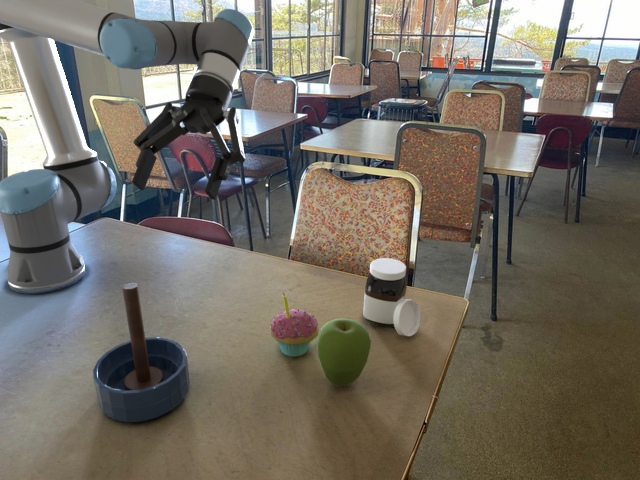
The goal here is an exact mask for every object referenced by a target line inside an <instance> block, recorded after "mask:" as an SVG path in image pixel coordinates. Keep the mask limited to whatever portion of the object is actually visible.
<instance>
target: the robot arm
mask: <svg viewBox="0 0 640 480" xmlns="http://www.w3.org/2000/svg"><path fill="white" fill-rule="evenodd" d="M253 36H254V26H253V24H252V22H251V20H250V19H249V18H248V17H247V16H246V15H245V14H244V13H242V12H241V11H239V10H236V9H233V8H225V9H222V10H221V11H219V12H218V13H217V15H216V16H215V17H214V20H213V21H203V22H202V21H201V22H197V21H196V22H195V21H180V20H179V21H176V20H153V19H152V20H150V19H141V18H137V17H133V16H130V15H126V14H124V13H118V12H116V11H113V10H109V9H107V8H103V7H99V6H97V5H94V4H90V3H86V2H84V1H80V0H0V38H1V39H2V40H4V41H5V42H6V43H7V45H8V47H9V50H10V54H11V56H12V59H13V62H14V65H15V67H16V70H17V73H18V76H19V79H20V82H21V85H22V87H23V90H24V93H25V96H26V99H27V101H28V105H29V107H30V110H31V112H32V115H33V119H34V123H35V125H36V128H37V130H38V134H39V136H40V138H41V141H42V144H43V148H44V151H45V153H46V157H45V159H44V161H43V162H42V167H43V168H36V169H35V168H34V169H29V170H27V171H25V170H24V171H20V172H16V173H13V174H11V175H8V176H6V177H5V178H3V179H1V180H0V217H1V220H2V224H3V228H4V232H5V236H6V239H7V243H8V248H9V257H8V258H9V259H8V264H7V265H8V266H7V272H6V280H7V284H8V287H9V289H10V290H11V291H13V292H16V293H20V294H26V295H27V294H29V295H35V294H36V295H37V294H46V293H51V292H55V291H60V290H63V289H65V288H68V287H70V286H72V285H74V284H77V282H79V281H80V280H81V279H83V277H84V276H85V275H86V266H85V265H86V264H85V262H84V259H85V258H84V257H83V256H82V254H80V253H79V252H78V250H77V249H76V247H75V245H74V243H73V242H72V240H71V234H70V230H69V229H70V228H69V224H71V223H73V222H75V221H78V220H80V219H82V218H84V217H86V216H89V215H90V214H91V215H92V214H93V213H98V212H99V211H101V210H102V209H103V208H105V207H107V206H109V205H110V204H111V203H112V201H113V200H114V198H115V196H116V194H117V187H118V186H117V179H116V175H115V173H114V171H113V169H112V168H111V167H110V166H108V164H107V163H106V162H104V161H102V160H99V156H98V153H97V152H96V151H94V150H92V149H91V148H89V147H88V145H87V142H86V138H85V135H84V132H83V129H82V126H81V122H80V119H79V116H78V113H77V109H76V107H75V103H74V100H73V97H72V95H71V91H70V88H69V84H68V81H67V79H66V75H65V72H64V69H63V66H62V63H61V61H60V57H59V54H58V51H57V47H56V44H55V42H58V43H61V44H65V45H67V46H71V47H74V48H77V49H80V50H83V51H86V52H88V53H89V52H90V53H93V54H96V55H99V56H102V57H105V58H106V60H108V61H109V62H110V63H111V65H113V66H114V67H117V68H118V69H128V70H136V71H137V70H142V69H147V68H154V67H164V66H176V65H196V66H195V68H194V71H193V73H192V77H191V79H190V82H189V84H188V87H187V89H186V92H185V98H184V103H183V104H182V105H181V106H176V105H174V104H173V103H172V101H171V102H170V101H169V102H166V103H165V106H164V107H163V109H162V111H161V112H160V113H159V114H158V115H157V116H156V117H155V118H154V120H152V122H150V123H149V125H147V127H145V129H144V130H143V131H142V132H141V133H140V134H139V135H138V136H137V137H136V138H135V139H134V140H133V144H134V146H136V148H137V149H138V150H139V151H140V153H139V154H138V157H137V160H136V162H135V167H136V170H135V173H134V175H133V176H132V180H131V183H132V184H133V185H134V186H135V187H136V188H137V189H139V190H140V191H145V189H146V187H147V184H148V181H149V178H150V176H151V174H152V172H153V168H154V167H155V164H156V161H157V159H158V158H157V156H156V154H157V153H158V152H160V151H161V150H163V149H164V148H165V147H167V146H168V145H170V144H171V143H172V142H174V141H176V139H178V138H179V137H181V136H185V135H187V134H188V133H190V134H197V133H199V134H201V135H207V134H208V133H210V134H211V136H212V138H213V140H214V142H215V144H216V146H217V148H218V150H219V151H220V155H221V156H216V157H215V161H214V163H213V167H212V170H211V172H210V175H209V179H208V181H207V184H206V187H205V189H204V193H205V194H206V195H207V196H208V198H210V200H213V201H216V200H217V197H218V195H219V191H220V188H221V186H222V182H223V181H224V182H225V181H227V179H228V178H229V175H230V172H231V170H232V166H233V165H234V164H235V163H240V164H243V163H244V162H245V161H246V155H245V151H244V150H245V149H244V144H243V140H242V135H241V129H240V124H241V120H242V117H241V115H240V113H239V112H238V110H237V108H236V107H234V106H231V107H230V104H231V100H232V97H233V94H234V91H235V88H236V86H237V83H238V80H239V78H240V74H241V71H242V68H243V65H244V64H245V60H246V58H247V55H248V54H249V52H250V50H251V43H252V40H253ZM229 107H230V108H229ZM228 109H229V110H228ZM224 121H226V123H227V124H228V131H229V137H230V141H231V146H232V151H230V150H229V149H230V148H228V145H227V143H226V141H225V139H224V138H223V136H222V133H221V131H220V129H219V127H218V126H219V125H221V124H222V123H223V122H224ZM181 123H182V125H183V126H182V125H181Z"/></svg>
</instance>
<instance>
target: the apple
mask: <svg viewBox="0 0 640 480" xmlns="http://www.w3.org/2000/svg"><path fill="white" fill-rule="evenodd" d="M315 343H316V350H317V356H318V359H319V362H320V364H321V367H322V371H323V373H324V376H325V378H326V379H327V380H328V381H329V382H330V383H332V384H333V385H334V386H336V387H345V386H348V385H351V384H353V382H355V381H357V380H358V379H359V378H360V376H361V374H362V372H363V370H364V368H365V366H366V364H367V363H368V359H369V356H370V355H369V354H370V351H371V346H372V340H371V337H370V333H369V331H368V330H367V328H366V327H365V326H363V325H362V324H361V323H360V322H358V321H357V320H354V319H351V318H335V319H332V320H330V321H328V322H326V323H325V324H324V325H323V326H322V327H321V328H320V331H319V332H318V336H317V338H316V342H315Z"/></svg>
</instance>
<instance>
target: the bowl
mask: <svg viewBox="0 0 640 480" xmlns="http://www.w3.org/2000/svg"><path fill="white" fill-rule="evenodd" d="M145 340H146V347H147V354H148V361H149V366H152V367H157V368H159V369H160V370H161V371H162V373H163V379H164V381H163V382H161V383H159V384H157V385H155V386H152V387H148V388H145V389H141V390H130V391H126V390H125V385H124V380H125V378H126V376H127V375H128V374H129V373H130V372H132V371H133V370H135V365H134V358H133V352H132V346H131V339H130V340H127V341H126V342H123V343H119V344H118V345H116V346H114V347H112V348H110V349H109V350H107V351H106V352H105V353H103V355H102V356H101V357H100V358H99V359H98V360H97V361H96V363H95V365H94V367H93V369H92V374H93V376H92V377H93V379H92V380H93V383H94V389H95V393H96V397H97V403H98V407H99V408H100V410H101V411H102V413H103V414H104V415H105V416H107V417H109V418H110V419H112V420H114V421H119V422H125V423H136V422H137V423H138V422H146V421H148V420H153V419H157V418H158V417H161V416H163V415H165V414H166V413H169V412H170V411H172V410H174V409H175V408H176V407H178V405H180V404H181V403H182V402H183V401H184V399H185V397H186V396H187V394H188V393H189V389H190V384H191V382H190V372H189V364H188V354H187V351H186V349H185V348H184V347H183V346H182V345H181V344H180V343H179V342H177V341H174V340H172V339H170V338H166V337H159V336H151V337H150V336H148V337H145Z"/></svg>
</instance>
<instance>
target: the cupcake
mask: <svg viewBox="0 0 640 480" xmlns="http://www.w3.org/2000/svg"><path fill="white" fill-rule="evenodd" d="M282 301H283V306H284V311H281V312H279V313H278V314H276V315H275V316H273V319H271V322H270V327H269V330H270V331H269V332H270V336H271V337H272V338H274V340H275V341H276V342H277V343H278V346H279V348H280V351H281V352H282V354H284V355H285V356H288V357H300V356H302V355H305V353H307V351H308V348H309V346H310V344H311V342H312V341H314V340H315V339H317V338H318V336H319V332H320V331H319V330H320V327H319V323H318V321H317V319H316V318H315V315H313V314H311V313H309V312H308V311H307V310H302V309H290V307H289V302H288V297H287V295H285V292H284V291H282Z"/></svg>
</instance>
